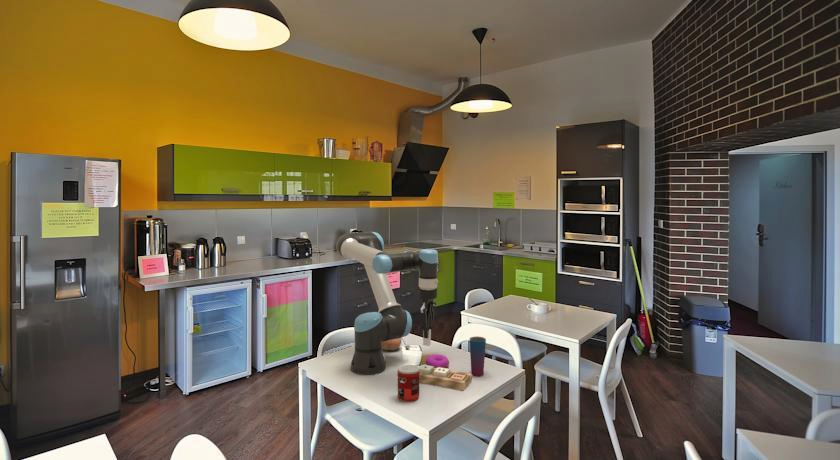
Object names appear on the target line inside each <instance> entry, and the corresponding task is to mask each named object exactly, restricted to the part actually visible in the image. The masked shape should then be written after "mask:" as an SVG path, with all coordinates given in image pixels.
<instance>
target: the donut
mask: <svg viewBox="0 0 840 460" xmlns="http://www.w3.org/2000/svg"><path fill="white" fill-rule="evenodd" d="M425 365H428V366H434V368H438V367H441V368H448V366H449V365H450V360H449V358H447V356H445V355H442V354H437V353H435V354H430V355H428V356H427V357H426V359H425Z"/></svg>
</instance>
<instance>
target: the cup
mask: <svg viewBox="0 0 840 460" xmlns="http://www.w3.org/2000/svg"><path fill="white" fill-rule="evenodd" d="M486 343H487V339H486V338H485V337H483V336H477V335H476V336H470V337H469V353H470V355H469V356H470V370H471V371H470V372H471V373H470V374H472V377H473V376H474V377H482V376H484V373H485V371H484V370H485V358H486V346H487V345H486Z"/></svg>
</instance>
